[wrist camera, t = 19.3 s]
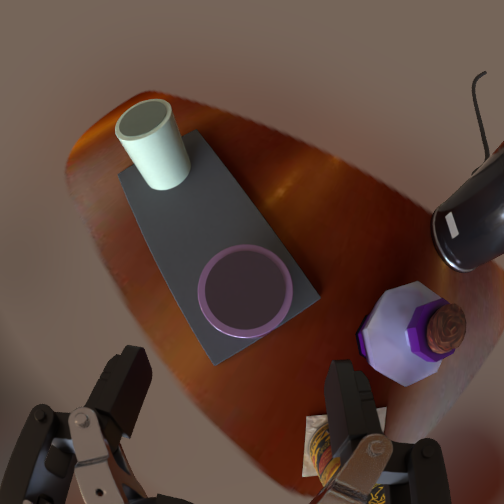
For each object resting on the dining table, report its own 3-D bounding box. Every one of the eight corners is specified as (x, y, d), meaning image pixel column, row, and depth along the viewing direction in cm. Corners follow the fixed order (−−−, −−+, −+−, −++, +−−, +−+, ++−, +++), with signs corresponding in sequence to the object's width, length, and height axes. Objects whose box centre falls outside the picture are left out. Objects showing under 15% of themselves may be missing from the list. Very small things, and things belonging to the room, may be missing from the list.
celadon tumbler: (179, 143, 32) (159, 90, 24) (199, 173, 30) (180, 117, 22) (138, 166, 31) (109, 118, 23) (154, 199, 30) (122, 150, 21)
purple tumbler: (260, 265, 27) (259, 226, 18) (294, 316, 25) (312, 303, 16) (207, 297, 26) (180, 274, 17) (240, 351, 24) (228, 356, 15)
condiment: (306, 415, 22) (338, 465, 11) (385, 406, 22) (454, 434, 10) (301, 475, 20) (323, 543, 9) (378, 464, 20) (432, 512, 8)
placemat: (197, 131, 33) (196, 128, 33) (319, 298, 26) (321, 297, 25) (119, 176, 32) (117, 174, 31) (215, 365, 24) (214, 366, 24)
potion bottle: (369, 395, 22) (435, 421, 11) (324, 329, 25) (371, 318, 14) (426, 341, 24) (503, 331, 12) (386, 279, 26) (452, 238, 15)
